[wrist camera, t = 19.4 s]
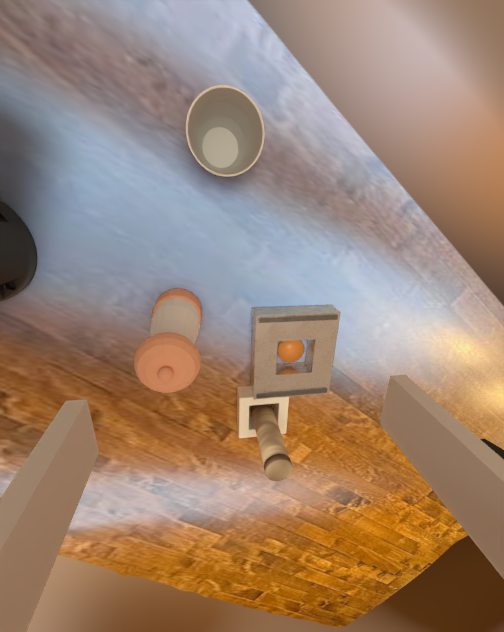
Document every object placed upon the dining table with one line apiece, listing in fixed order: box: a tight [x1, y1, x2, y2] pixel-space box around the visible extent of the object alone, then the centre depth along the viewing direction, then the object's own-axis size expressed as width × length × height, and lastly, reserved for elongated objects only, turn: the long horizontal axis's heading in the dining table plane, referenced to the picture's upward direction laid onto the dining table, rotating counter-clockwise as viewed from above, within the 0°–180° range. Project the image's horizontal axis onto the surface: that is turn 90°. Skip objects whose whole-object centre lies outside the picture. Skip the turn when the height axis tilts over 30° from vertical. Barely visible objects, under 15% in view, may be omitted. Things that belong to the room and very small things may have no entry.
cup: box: [186, 85, 264, 177], centre depth 35 cm, size 8×8×10 cm
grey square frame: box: [250, 305, 340, 399], centre depth 51 cm, size 14×16×4 cm
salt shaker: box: [134, 288, 202, 393], centre depth 38 cm, size 7×7×19 cm
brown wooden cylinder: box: [250, 404, 292, 481], centre depth 49 cm, size 4×4×15 cm
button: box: [277, 340, 304, 362], centre depth 52 cm, size 5×5×1 cm
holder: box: [237, 386, 289, 438], centre depth 55 cm, size 9×9×4 cm
